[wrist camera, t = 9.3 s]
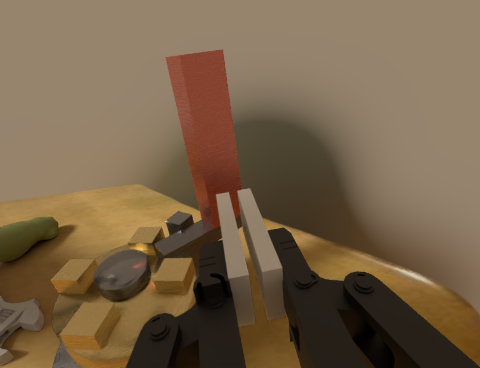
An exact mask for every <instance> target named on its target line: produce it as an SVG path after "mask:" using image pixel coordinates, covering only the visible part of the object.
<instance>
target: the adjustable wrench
mask: <svg viewBox="0 0 480 368" xmlns="http://www.w3.org/2000/svg"><path fill="white" fill-rule="evenodd" d="M39 306H40V304H39V303H38V301H37V300H36V299H31V300H29V301H26V302H20V303H8V302H5V301H4V300H3V298H2V297H1V295H0V366H1V365H4V364H6V363H8V362H10V361H11V360H12V359H13V358H14V356H13V355H12V354H11V353H10V352H9V350H6V349H1V347H2V345H3V343H4V341H5V340H6V339H7V338H8V337H9V336H10V335H11V334H12V333H13V332H14V331H15V330H16V329H17V328H19V327H22V328H23V329H27V330H32V331H38V332H39V331H40V330H41V329H42V328H43V324H44V316H43V313H42V312H41V311H40V309H39V308H38V307H39Z"/></svg>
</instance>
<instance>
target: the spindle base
mask: <svg viewBox="0 0 480 368" xmlns="http://www.w3.org/2000/svg"><path fill="white" fill-rule="evenodd" d="M166 224H167V228H168V231H169V234H170V236H171V235H173V234H175V233H177V232H179V231H181V230H182V229H184V228H186V227H188V226H190V225H192V224H194V222H193V217H192V215H191V214H187V213H183V212H180V211H178V212H177V213H175V214H174V215H173V216H171V217H170V218H169V219H167V220H166ZM191 258H192V259H193V263H194V267H195V271H196V272H195V273H196V277H197V278H198V277H199V252H197V253H195V254H193V255H192V256H191ZM150 277H151V269H150V266H149V263H148V260H147V258H146V255H145V254H144V253H143V252H142V251H140V250H135V249H131V250H125V251H121V252H118V253H116V254H114V255H112V256H110V257H108V258H107V259H105V260H104V261H103V262H102V263H101V264H100V265H99V266H98V267H97V269H96V270H95V272H94V281H95V283H96V285H97V287H98V289H99V291H100V293H101V295H102V296H103V297H104V298H105V299H108V300H121V299H124V298H127V297H130V296H132V295H134V294H135V293H137V292H138V291H140V290H141V289H142V288H143V287H144V286H145V285H146V284H147V282H148V281H149V279H150ZM52 368H78V366H77V365H76V363H75V362H74V360H73V359H72V357H71V356H70V354H69V353H68V351H67V350H66V348H65V347H64V345H63V344H62V342H61V344H60V346H59V349H58V351H57V354H56V357H55V359H54V362H53V367H52Z"/></svg>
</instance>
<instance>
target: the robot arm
mask: <svg viewBox="0 0 480 368" xmlns="http://www.w3.org/2000/svg"><path fill="white" fill-rule="evenodd" d="M237 193H238V200H239V207H240V214H241V221H242V227H243V232H244V235H245V239H246V243H247V246H248V250H249V254H250V257H251V261H252V265H253V268H254V272H255V276H256V279H257V283H258V287H259V290H260V294H261V298H262V301H263V305H264V309H265V312H266V316H267V320H268V321H270V320H275V319H279V318H284V317H286V314H287V316H288V319H289V332H290V342H291V341H293V342H294V345H295V349H296V352H297V355H298V358H299V361H300V365H301V368H480V367H479V366H478V365H477V364H476V363H475V362H474V361H472V360H471V359H470V358H469V357H468V356H467V355H465V354H464V353H463V352H462V351H461V350H460V349H459V348H457V347H456V346H455V345H454V344H453V343H452V342H450V341H449V340H448V339H447V338H446V337H445V336H443V335H442V334H441V333H440V332H439V331H438V330H437V329H435V328H434V327H433V326H432V325H431V324H430V323H428V322H427V321H426V320H425V319H424V318H423V317H422V316H420V315H419V314H418V313H417V312H416V311H415V310H413V309H412V308H411V307H410V306H409V305H408V304H407V303H405V302H404V301H403V300H402V299H401V298H400V297H398V296H397V295H396V294H395V293H394V292H393V291H392V290H390V289H389V288H388V287H387V286H386V285H385V284H383V283H382V282H381V281H380V280H379V279H378V278H376V277H375V276H373V275H372V274H369V273H366V272H352V273H350V274H348V275H347V276H346V277H345V279H344V281H338V280H327V279H324V278H321V277H319V276H318V274H316V273H315V272H313V271H311V269H310V268H309V266H308V264H307V262H306V260H305V258H304V257H303V255H302V253H301V251H300V249H299V247H298V245H297V244H296V242H295V240H294V238H293V236H292V234H291V233H290V232H289V231H287V230H286V229H285V228H279V229H273V230H268V231H267V229H266V227H265V224H264V222H263V219H262V217H261V214H260V212H259V209H258V207H257V205H256V202H255V200H254V197H253V195H252V192H251V190H250V189H245V190H238V191H237ZM216 199H217V205H218V212H219V219H220V226H221V232H222V239H223V240H220V241H215V242H210V243H205V244H203V245H202V247H201V249H200V250H199V277H198V278H197V279H196V281H195V282H194V285H193V292H194V295H195V299H196V303H195V305H194V306H193V307H191V308H190V309H189V310H187V311H186V312H184V313H182V314H180V315H178V316H177V317H175V316H173V315H172V314H168V313H163V314H158V315H156V316H154V317H152V318H151V319H149V320H148V321H147V322H146V323H145V324H144V326H143V328H142V329H141V331H140V334H139V336H138V338H137V341H136V343H135V346H134V348H133V351H132V353H131V355H130V358H129V360H128V363H127V365H126V367H125V368H246V365H245V360H244V355H243V349H242V344H241V339H240V334H239V327H243V326H247V325H252V324H256V321H255V314H254V307H253V300H252V293H251V286H250V279H249V273H248V269H247V265H246V261H245V257H244V253H243V249H242V244H241V240H240V236H239V232H238V228H237V224H236V220H235V216H234V212H233V207H232V203H231V199H230V195H229V192H227V193H221V194H216ZM285 311H286V314H285Z"/></svg>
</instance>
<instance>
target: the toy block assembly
mask: <svg viewBox="0 0 480 368" xmlns="http://www.w3.org/2000/svg"><path fill="white" fill-rule="evenodd" d="M166 61H167V65H168V70H169V75H170V79H171V84H172V87H173V92H174V96H175V101H176V106H177V110H178V115H179V119H180V124H181V128H182V132H183V137H184V142H185V146H186V150H187V155H188V160H189V164H190V168H191V173H192V177H193V182H194V186H195V190H196V195H197V200H198V204H199V209H200V213H201V218H202V220H200V221H198V222H196V223H194V224H192V225H190V226H188V227H186V228H184V229H182V230H181V231H179V232H177V233H175V234H173V235H171V236H169V237H167V238H165V236H164V233H163V229H162V227H141V228H139V229H138V230H137V231H136V233H135V234H134V235H133V237H132V238H131V239H130V241H129V242H128V244H126V245H124V246H121V247H118V248H116V249H114V250H111V251H109V252H107V253H105V254H103V255H102V256H100V257H98V258H97V259H70V260H69V261H68V262H67V263H66V264H65V265H64V266H63V267H62V269H61V270H60V271H59V272H58V273H57V274H56V275H55V276H54V277H53V278H52V279H51V282H52V284H53V285H54V287H55V289H56V290H57V292H58V293H60V295H59V297H58V299H57V301H56V303H55V305H54V308H53V313H52V325H53V329H54V331H55V333H56V335H57V336H58V338H59V339H60V341H61V342H62V344H63V345H64V347H65V348H66V350H67V351H68V353H69V354H70V356H71V357H72V359H73V360H74V362H75V363H76V365H77V366H78V368H125V367H126V365H127V363H128V360H129V358H130V355H131V353H132V351H133V348H134V346H135V343H136V341H137V338H138V336H139V334H140V331H141V329H142V328H143V326H144V324H145V323H146V322H147V321H148V320H149V319H151V318H152V317H154V316H156V315H158V314H163V313H168V314H172V315H173V316H175V317H177V316H178V315H180V314H182V313H184V312H186V311H187V310H189V309H190V308H191V307H193V306H194V305H195V303H196V299H195V295H194V292H193V285H194V282H195V281H196V279H197V277H196V273H195V272H196V271H195V267H194V263H193V259H192V258H191V256H192V255H193V254H195V253H197V252H199V250H200V249H201V247H202V245H203V244H205V243H210V242H215V241H218V240H219V239H221V238H222V232H221V226H220V219H219V212H218V205H217V199H216V194H221V193H227V192H229V195H230V199H231V203H232V207H233V212H234V216H235V220H236V224H237V228H238V229H239V228H240V227H242V221H241V214H240V207H239V200H238V193H237V191H238V190H242V188H241V182H240V174H239V166H238V159H237V151H236V144H235V136H234V129H233V122H232V115H231V107H230V99H229V93H228V84H227V77H226V70H225V62H224V55H223V50H216V51H209V52H201V53H194V54H186V55H179V56H173V57H166ZM131 249H135V250H140V251H142V252H143V253H144V254H145V255H146V258H147V260H148V263H149V266H150V269H151V277H150V279H149V281H148V282H147V284H146V285H145V286H144V287H143V288H142V289H141V290H140V291H138V292H137V293H135V294H134V295H132V296H130V297H127V298H124V299H121V300H108V299H105V298H104V297H103V296H102V295H101V293H100V291H99V289H98V287H97V285H96V283H95V281H94V272H95V270H96V269H97V267H98V266H99V265H100V264H101V263H102V262H103V261H104V260H105V259H107V258H108V257H110V256H112V255H114V254H116V253H118V252H121V251H125V250H131Z"/></svg>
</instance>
